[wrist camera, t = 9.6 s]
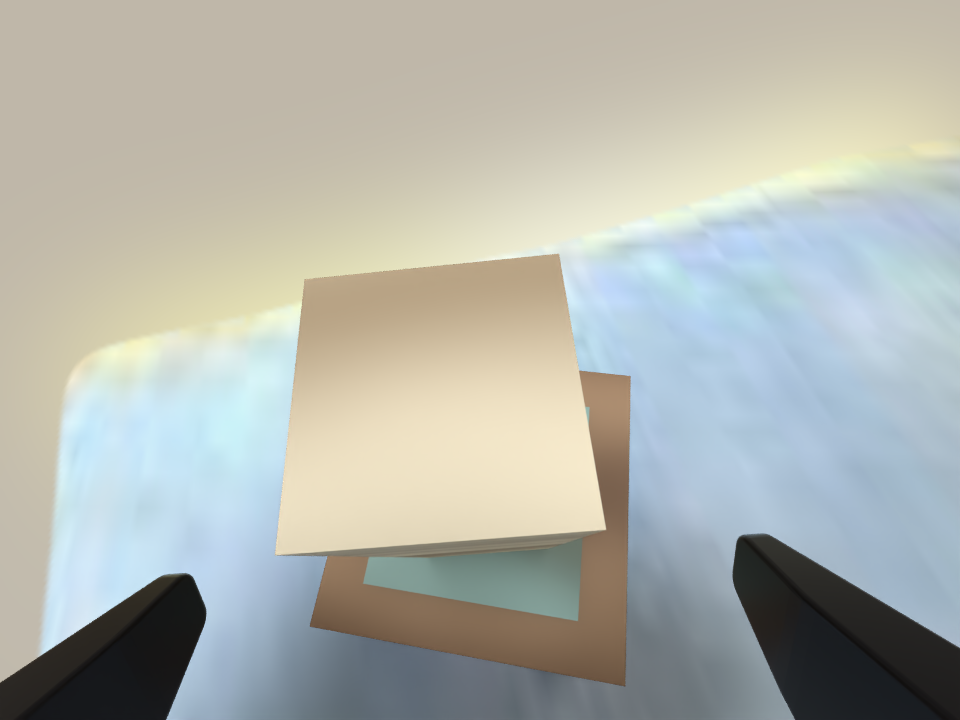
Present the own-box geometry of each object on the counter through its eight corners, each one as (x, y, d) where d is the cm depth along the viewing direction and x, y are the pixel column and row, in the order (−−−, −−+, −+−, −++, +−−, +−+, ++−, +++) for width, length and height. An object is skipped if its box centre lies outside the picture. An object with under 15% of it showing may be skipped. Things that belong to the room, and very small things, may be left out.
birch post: (548, 548, 15) (606, 530, 5) (428, 557, 15) (274, 555, 5) (534, 430, 17) (558, 253, 7) (425, 439, 17) (304, 279, 7)
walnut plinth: (606, 664, 16) (626, 688, 13) (341, 615, 17) (306, 627, 14) (614, 401, 20) (631, 374, 17) (398, 376, 21) (379, 347, 18)
